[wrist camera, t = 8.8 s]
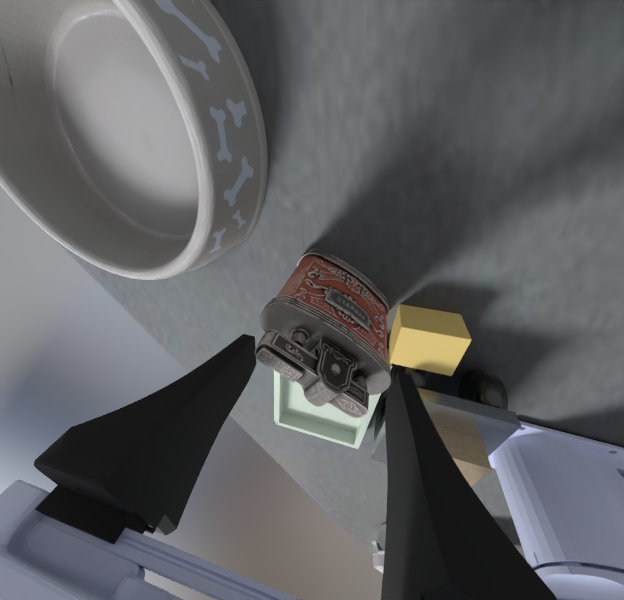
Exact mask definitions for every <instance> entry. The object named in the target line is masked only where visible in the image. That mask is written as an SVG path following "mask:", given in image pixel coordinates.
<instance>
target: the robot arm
mask: <svg viewBox="0 0 624 600" xmlns="http://www.w3.org/2000/svg"><path fill="white" fill-rule="evenodd" d="M254 351H255V337H254V336H249V335H245V334H243V335H241V336H240V337H239V338H237V339H236V340H235V341H234V342H232V343H231V344H230V345H228V346H227V347H226V348H224V349H223V350H222V351H220V352H219V353H218V354H216V355H215V356H213V357H212V358H211V359H209V360H208V361H206V362H205V363H204V364H202V365H201V366H199V367H197V368H196V369H194V370H193V371H191V372H190V373H188V374H187V375H185V376H183V377H182V378H180V379H179V380H177V381H175V382H173V383H172V384H170V385H168V386H166V387H164V388H162V389H160V390H158V391H157V392H155V393H153V394H151V395H149V396H147V397H145V398H143V399H141V400H138V401H136V402H134V403H132V404H129V405H127V406H125V407H123V408H120V409H118V410H116V411H113V412H111V413H108V414H106V415H103V416H101V417H98V418H95V419H92V420H90V421H87V422H84V423H82V424H79V425H76V426H73V427H71V428H70V429H69V430H68V431H66V433H64V434H63V435H62V436H61V437H60V438H59V439H58V440H57V441H56V442H54V443H53V444H52V445H51V446H50V447H49V448H48V449H47V450H46V451H45V452H44V453H43V454H41V455H40V456H39V457H38V458H37V459H36V460H35V462H34V466H35V467H36V468H37V469H38V470H39V471H40V472H42V473H43V474H44V475H46V476H47V477H48V478H50V479H51V480H52V481H53V482H55V483H56V484H57V485H58V486H57V487H56V488H55V489H54V490H53V491H52V492H51V493H49V492H47V491H45V490H43V489H41V488H39V487H36V486H34V485H31V484H29V483H26V482H24V481H22V480H17V481H15V482H14V483H13V484H11V485H10V486H9V487H8V488H7V489H6V490H5V491H4V492H3V493H2V494H1V495H0V600H183V599H181V598H179V597H177V596H175V595H173V594H170V593H169V592H167V591H165V590H163V589H161V588H159V587H157V586H155V585H152V584H150V583H148V582H146V581H144V577H145V570H144V569H143V568H145V569H147V570H149V571H152V572H154V573H156V574H159V575H161V576H163V577H166V578H168V579H170V580H172V581H175V582H177V583H179V584H182V585H184V586H186V587H189V588H191V589H193V590H195V591H198V592H200V593H202V594H205V595H207V596H209V597H212V598H214V599H216V600H301V599H299V598H296V597H294V596H291V595H289V594H287V593H284V592H282V591H279V590H277V589H275V588H272V587H270V586H267V585H265V584H262V583H260V582H257V581H255V580H253V579H250V578H248V577H245V576H243V575H240V574H238V573H235V572H233V571H230V570H228V569H226V568H223V567H221V566H218V565H216V564H214V563H211V562H209V561H206V560H204V559H201V558H199V557H196V556H194V555H192V554H189V553H187V552H184V551H182V550H179V549H177V548H174V547H172V546H170V545H167V544H165V543H162V542H160V541H157V540H155V539H152V538H150V537H148V536H145V535H143V533H144V531H147V532H149V533H152V534H153V533H154V532H155V531H156V532H159V533H162V534H164V535H168V534H170V533H171V532H173V531H174V530H176V529H177V526H178V524H179V521H180V519H181V516H182V514H183V511H184V509H185V506H186V504H187V502H188V499H189V497H190V494H191V492H192V490H193V487H194V485H195V483H196V480H197V478H198V476H199V473H200V471H201V469H202V467H203V465H204V462H205V460H206V458H207V456H208V454H209V452H210V449H211V447H212V445H213V443H214V441H215V439H216V437H217V435H218V433H219V431H220V429H221V427H222V425H223V423H224V421H225V420H226V418H227V416H228V415H229V413H230V412H231V410H232V408H233V407H234V405H235V403H236V402H237V400H238V398H239V397H240V395H241V393H242V392H243V390H244V388H245V386H246V385H247V383H248V381H249V379H250V377H251V375H252V373H253V370H254V368H255V366H256V355H255V352H254ZM519 422H520V424H521V427H520V428H519V429H518V430H517V431H516V432H515V433H514V434H513V435H511V436H510V437H509V438H508V439H507V440H506V441H505V442H504V443H503V444H502V445H500V446H499V447H498V448H497V449H496V450H495V451H494V452H493V453H492V454H491V455H489V456H488V459H489V462H490V465H491V467H492V468H495V469H496V471H497V474H498V477H499V480H500V483H501V486H502V489H503V492H504V495H505V498H506V501H507V504H508V507H509V510H510V513H511V516H512V519H513V522H514V524H515V527H516V530H517V533H518V536H519V539H520V542H521V545H522V548H523V551H524V554H525V557H526V560H527V561H526V560H525V559H524V558H523V556H522V555H521V554H520V553H519V551H518V550H517V549H516V548H515V546H514V545H513V544H512V542H511V541H510V540H509V539H508V537H507V536H506V535H505V533H504V532H503V531H502V530H501V528H500V527H499V526H498V524H497V523H496V521H495V520H494V519H493V517H492V516H491V515H490V513H489V512H488V510H487V509H486V508H485V506H484V505H483V503H482V502H481V501H480V499H479V498H478V497H477V495H476V494H475V492H474V491H473V489H472V488H471V486H470V485H469V483H468V482H467V480H466V479H465V477H464V476H463V474H462V473H461V471H460V469H459V468H458V466H457V465H456V463H455V461H454V460H453V458H452V456H451V455H450V453H449V451H448V450H447V448H446V446H445V444H444V442H443V441H442V439H441V437H440V435H439V433H438V431H437V430H436V428H435V426H434V424H433V422H432V420H431V418H430V416H429V414H428V412H427V409H426V407H425V405H424V403H423V401H422V399H421V396H420V394H419V392H418V389H417V387H416V385H415V382H414V380H413V377H412V376H411V375H408V374H404V373H400V372H397V375H396V377H395V379H394V381H393V384H392V386H391V388H390V390H389V393H388V395H387V397H386V409H385V432H386V450H387V468H388V492H387V517H386V537H385V553H384V568H383V581H382V594H381V600H624V448H623V447H619V446H615V445H611V444H607V443H603V442H599V441H596V440H592V439H588V438H584V437H580V436H576V435H572V434H569V433H565V432H561V431H557V430H553V429H549V428H545V427H541V426H538V425H534V424H530V423H526V422H522V421H519Z"/></svg>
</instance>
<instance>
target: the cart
mask: <svg viewBox="0 0 624 600" xmlns="http://www.w3.org/2000/svg"><path fill="white" fill-rule="evenodd" d="M397 372H400V373H404V374H408V375H411V376H412V377H413V380H414V382H415V385H416V387H417V389H418V392H419V394H420V396H421V399H422V401H423V403H424V405H425V407H426V409H427V412H428V414H429V416H430V418H431V420H432V422H433V424H434V426H435V428H436V430H437V431H438V433H439V435H440V437H441V439H442V441H443V442H444V444H445V446H446V448H447V450H448V451H449V453H450V455H451V456H452V458H453V460H454V461H455V463H456V465H457V466H458V468H459V469H460V471H461V473H462V474H463V476H464V477H465V479H466V480H467V482H468V483H469V485H470V486H471V487H472V486H473V485H474V484H475V483H476V482H478V481H479V480H480V479H481V478H482V477H484V476H485V475H486V474H487V473H488V472H490V471H491V470H492V468H491V465H490V462H489V459H488V456H489V455H491V454H492V453H493V452H494V451H495V450H496V449H497V448H498V447H499V446H500V445H502V444H503V443H504V442H505V441H506V440H507V439H508V438H509V437H510V436H511V435H513V434H514V433H515V432H516V431H517V430H518V429H519V428H520V427H521V424H520V422H519V420H518V417H517V415H516V413H515V412H512V411H508V410H507V394H506V390H505V387H504V385H503V383H502V382H501V380H500V379H499V378H497V377H496V376H493V375H489V374H485V373H480V372H476V371H470V372H468V373H467V374H466V375H465V377H464V378H463V380H462V382H461V385H460V390H459V398H457V397H453V396H449V395H445V394H441V393H437V392H433V391H429V390H425V384H426V371H425V370H420V369H415V368H411V367H406V366H401V365H397V366H396V370H395V374H394V379H395V377H396V375H397ZM385 409H386V403H384V402H381V403H380V405H379V408H378V411H377V416H376V422H375V432H374V440H375V442H374V444H373V447H372V457H371V459H374V460H377V461H380V462H384V463H387V450H386V432H385Z"/></svg>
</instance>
